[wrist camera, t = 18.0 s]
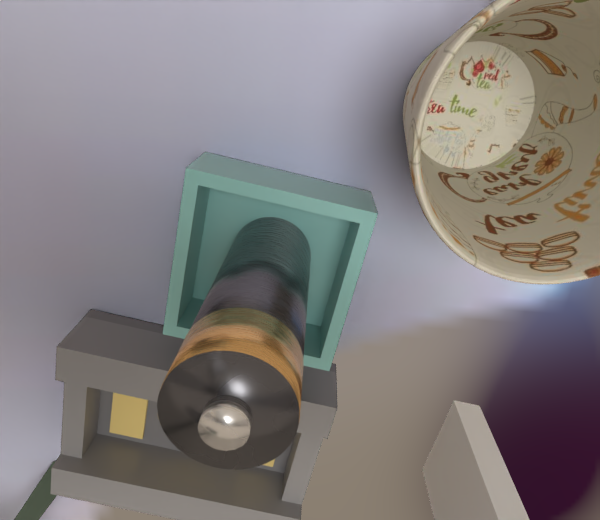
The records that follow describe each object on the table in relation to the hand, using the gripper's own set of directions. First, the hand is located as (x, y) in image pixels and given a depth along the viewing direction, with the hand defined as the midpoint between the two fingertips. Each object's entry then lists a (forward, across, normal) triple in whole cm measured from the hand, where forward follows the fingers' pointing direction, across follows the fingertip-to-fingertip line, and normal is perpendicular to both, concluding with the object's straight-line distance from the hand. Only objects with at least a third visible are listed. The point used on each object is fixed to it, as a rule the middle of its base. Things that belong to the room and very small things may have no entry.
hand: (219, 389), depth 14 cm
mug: (+12, +8, +10) cm, 18 cm away
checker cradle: (+12, -2, -12) cm, 17 cm away
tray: (+12, 0, -1) cm, 12 cm away
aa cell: (+12, +1, -1) cm, 12 cm away
